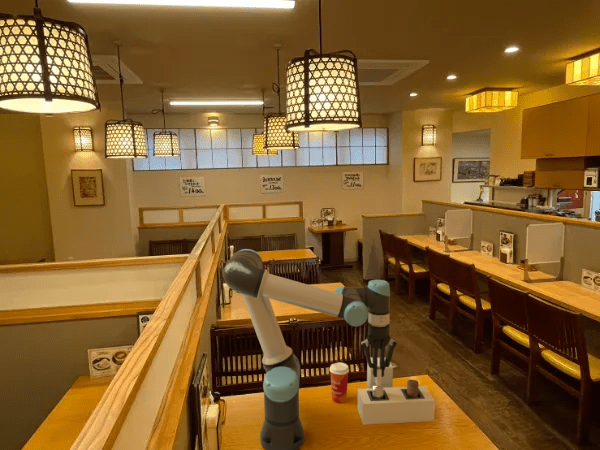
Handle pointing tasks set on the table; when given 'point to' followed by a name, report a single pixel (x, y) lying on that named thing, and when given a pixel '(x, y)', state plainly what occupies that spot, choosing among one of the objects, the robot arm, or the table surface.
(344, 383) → the paper cup
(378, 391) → the metal peg
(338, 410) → the table surface
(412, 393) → the walnut peg
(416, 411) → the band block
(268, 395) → the robot arm
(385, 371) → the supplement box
